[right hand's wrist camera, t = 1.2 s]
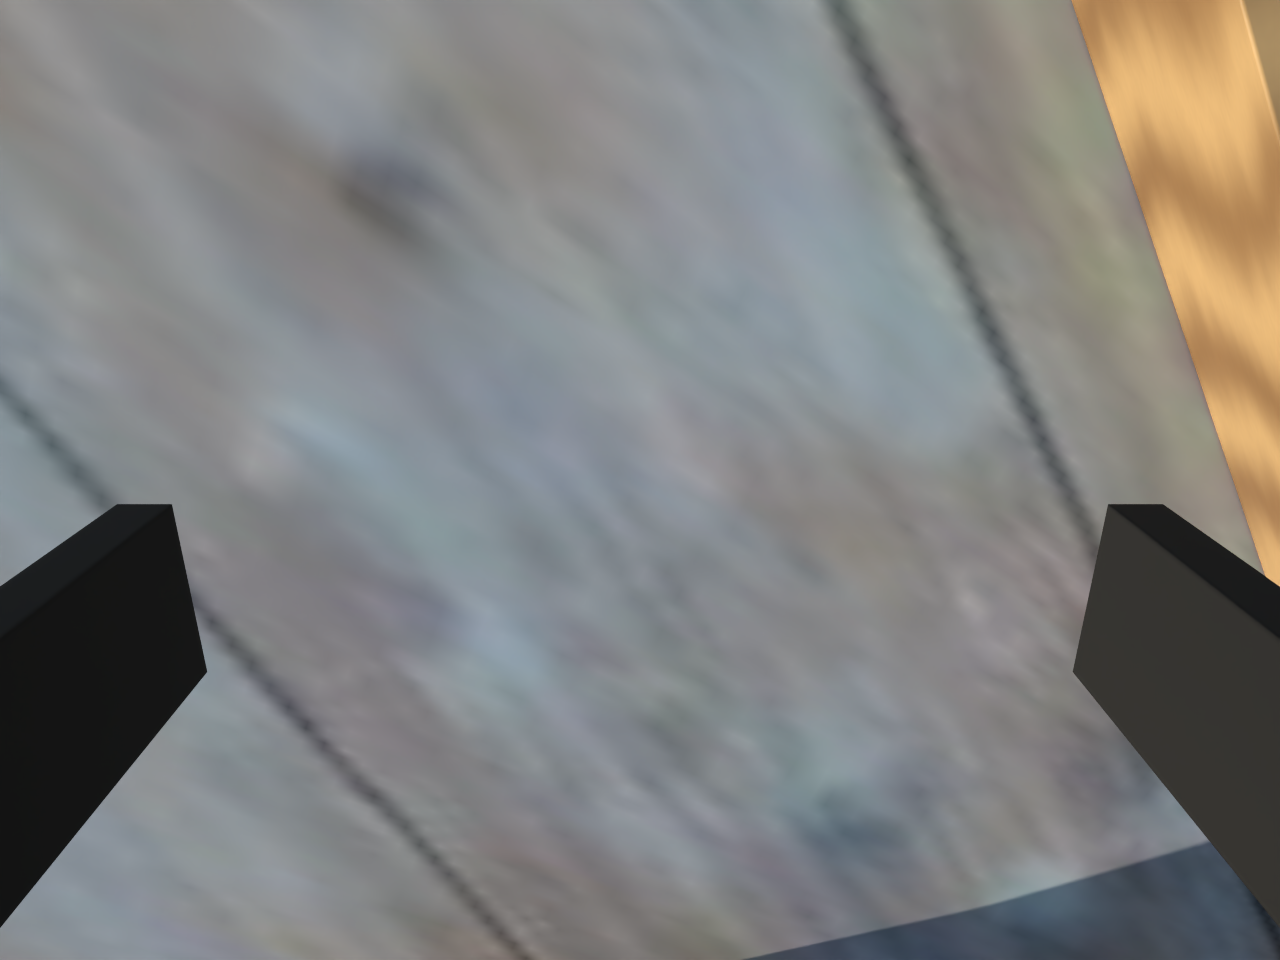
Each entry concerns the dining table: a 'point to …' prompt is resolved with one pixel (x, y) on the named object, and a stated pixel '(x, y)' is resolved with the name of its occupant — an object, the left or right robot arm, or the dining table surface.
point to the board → (1210, 204)
